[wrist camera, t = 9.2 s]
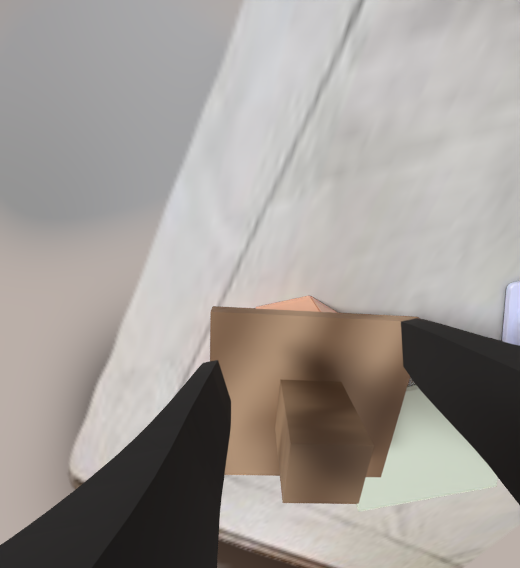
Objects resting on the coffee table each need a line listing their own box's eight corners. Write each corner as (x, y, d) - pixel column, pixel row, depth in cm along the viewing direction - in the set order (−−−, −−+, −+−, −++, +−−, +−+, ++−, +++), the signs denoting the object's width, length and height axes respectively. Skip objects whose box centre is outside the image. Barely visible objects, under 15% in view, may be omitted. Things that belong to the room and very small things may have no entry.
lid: (417, 316, 16) (496, 368, 11) (375, 466, 19) (419, 558, 14) (212, 306, 15) (192, 355, 10) (210, 463, 19) (195, 557, 14)
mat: (502, 367, 22) (507, 371, 22) (492, 481, 27) (496, 486, 26) (341, 400, 23) (342, 404, 22) (356, 506, 27) (358, 511, 27)
